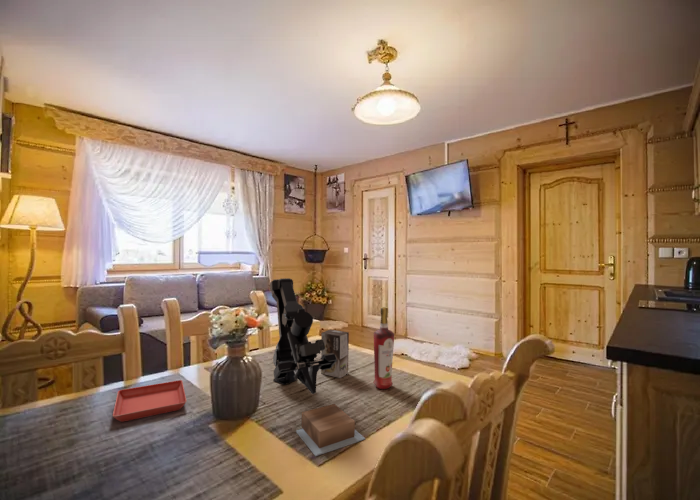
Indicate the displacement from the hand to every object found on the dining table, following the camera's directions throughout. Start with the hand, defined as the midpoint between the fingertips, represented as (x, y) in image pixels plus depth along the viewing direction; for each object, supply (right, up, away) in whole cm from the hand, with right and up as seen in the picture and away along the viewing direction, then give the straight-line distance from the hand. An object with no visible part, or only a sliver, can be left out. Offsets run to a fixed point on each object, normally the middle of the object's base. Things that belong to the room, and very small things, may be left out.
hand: (314, 393), depth 95 cm
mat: (+5, -7, -9) cm, 12 cm away
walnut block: (+1, -5, -3) cm, 6 cm away
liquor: (+22, -8, +23) cm, 33 cm away
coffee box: (+4, -7, +34) cm, 35 cm away
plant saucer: (-50, -7, +6) cm, 51 cm away
